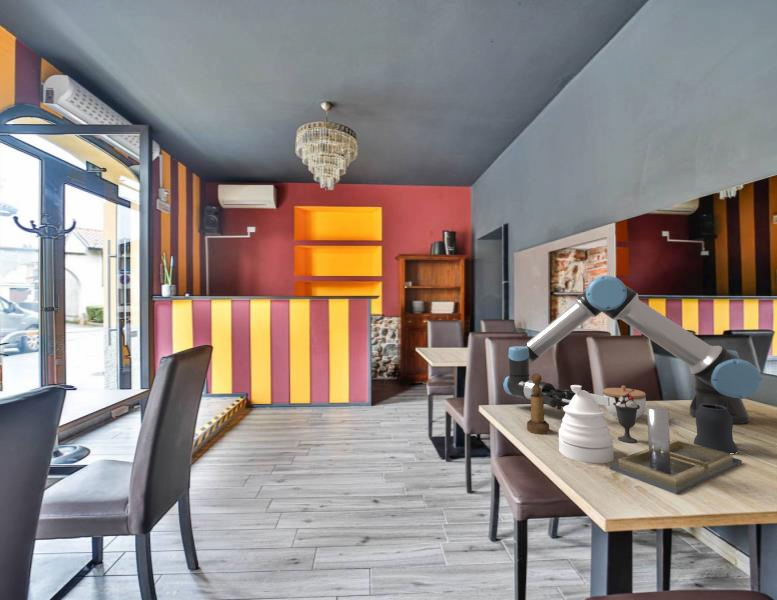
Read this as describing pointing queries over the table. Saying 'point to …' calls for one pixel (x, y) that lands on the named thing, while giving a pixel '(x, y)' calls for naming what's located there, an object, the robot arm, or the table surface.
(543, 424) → the brown pedestal figurine
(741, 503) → the table surface
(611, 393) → the lidded bowl
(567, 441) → the honey pot
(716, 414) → the mug
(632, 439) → the sundae
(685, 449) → the olive compartment tray
